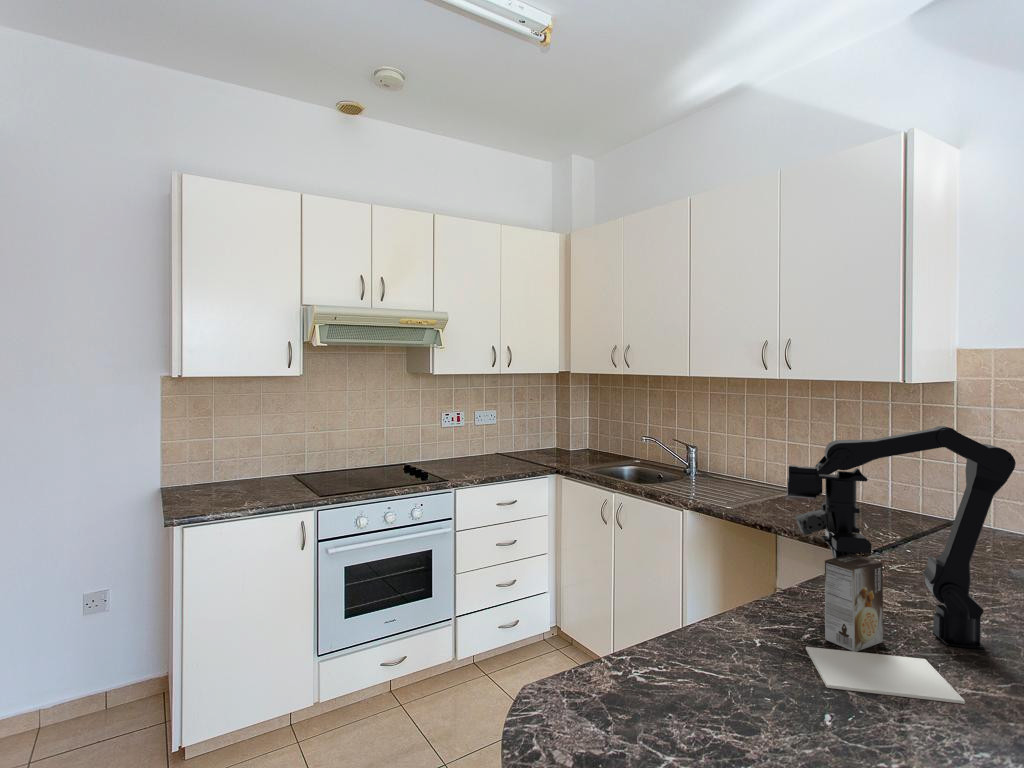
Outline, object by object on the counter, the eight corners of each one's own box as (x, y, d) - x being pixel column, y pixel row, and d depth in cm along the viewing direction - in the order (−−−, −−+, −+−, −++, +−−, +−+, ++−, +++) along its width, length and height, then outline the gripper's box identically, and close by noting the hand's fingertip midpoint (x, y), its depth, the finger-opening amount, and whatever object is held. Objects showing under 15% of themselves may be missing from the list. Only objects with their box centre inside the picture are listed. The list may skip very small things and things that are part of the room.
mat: (925, 661, 106) (925, 659, 106) (964, 703, 92) (964, 700, 92) (805, 649, 110) (805, 646, 110) (826, 687, 97) (826, 684, 97)
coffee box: (851, 630, 119) (852, 552, 119) (883, 642, 113) (884, 561, 113) (823, 639, 114) (823, 559, 114) (855, 653, 109) (855, 568, 109)
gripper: (789, 490, 133) (789, 557, 133) (809, 508, 115) (809, 586, 115) (843, 492, 130) (843, 561, 130) (872, 511, 112) (872, 591, 112)
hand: (840, 573), depth 122 cm, fingers closed
